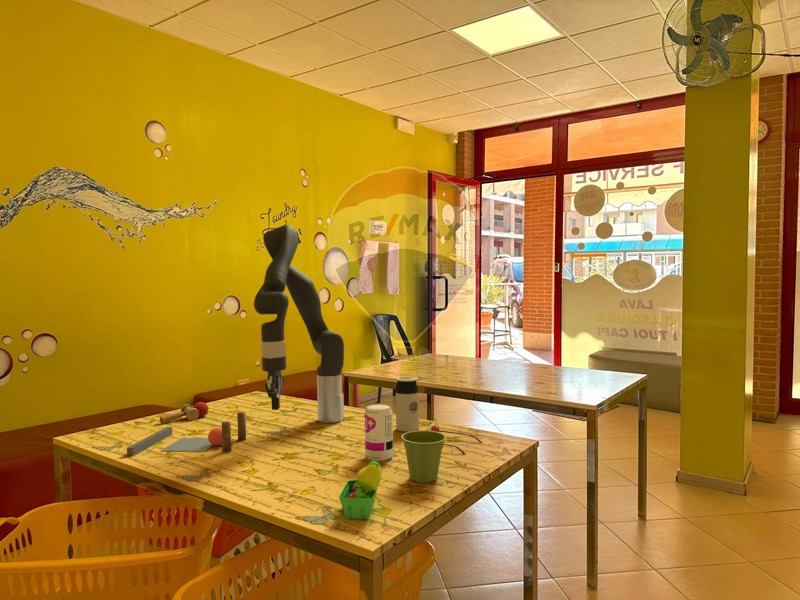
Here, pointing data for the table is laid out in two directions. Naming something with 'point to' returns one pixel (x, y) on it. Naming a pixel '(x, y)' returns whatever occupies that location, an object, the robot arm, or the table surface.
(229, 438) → the gate post
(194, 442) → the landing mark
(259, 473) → the table surface
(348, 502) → the fruit basket
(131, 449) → the wall
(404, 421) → the travel mug
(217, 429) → the ball
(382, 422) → the supplement can
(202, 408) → the kendama
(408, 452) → the plant pot
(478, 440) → the glasses
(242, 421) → the gate post
